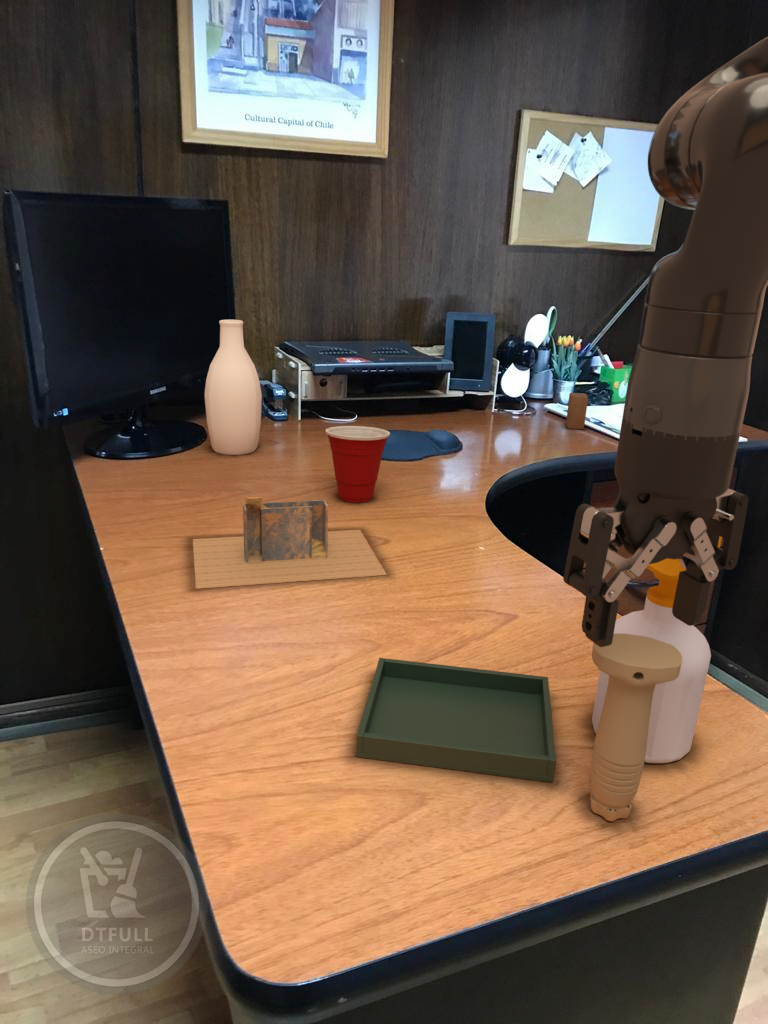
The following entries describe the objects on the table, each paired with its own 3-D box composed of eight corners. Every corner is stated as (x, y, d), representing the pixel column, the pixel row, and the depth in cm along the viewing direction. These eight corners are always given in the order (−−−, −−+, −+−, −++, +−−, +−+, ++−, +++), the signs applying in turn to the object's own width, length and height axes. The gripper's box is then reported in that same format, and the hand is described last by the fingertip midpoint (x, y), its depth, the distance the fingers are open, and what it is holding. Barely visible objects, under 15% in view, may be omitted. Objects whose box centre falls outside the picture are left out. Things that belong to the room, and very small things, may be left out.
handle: (652, 838, 61) (686, 673, 55) (569, 823, 62) (594, 660, 57) (646, 796, 65) (677, 640, 60) (568, 783, 66) (592, 629, 61)
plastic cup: (390, 489, 137) (393, 423, 133) (383, 510, 127) (386, 439, 123) (330, 484, 138) (331, 419, 134) (318, 505, 128) (319, 434, 124)
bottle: (262, 456, 152) (260, 325, 143) (204, 457, 151) (199, 324, 142) (262, 441, 163) (260, 318, 154) (208, 441, 161) (203, 316, 152)
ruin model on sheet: (195, 588, 98) (192, 517, 94) (192, 539, 113) (189, 475, 109) (386, 574, 104) (390, 507, 100) (360, 529, 119) (362, 469, 115)
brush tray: (545, 696, 79) (548, 676, 78) (552, 782, 66) (556, 760, 65) (378, 676, 81) (379, 657, 80) (355, 757, 68) (356, 735, 68)
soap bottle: (572, 717, 75) (608, 477, 67) (647, 699, 79) (691, 469, 70) (632, 775, 68) (682, 513, 59) (712, 753, 71) (770, 502, 62)
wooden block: (566, 428, 184) (571, 395, 182) (565, 424, 188) (569, 392, 185) (583, 430, 184) (588, 396, 181) (582, 426, 188) (586, 393, 185)
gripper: (714, 400, 58) (676, 594, 64) (560, 411, 52) (533, 624, 58) (802, 424, 52) (751, 637, 57) (639, 440, 46) (600, 676, 51)
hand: (642, 630), depth 57 cm, fingers open, 8 cm apart
